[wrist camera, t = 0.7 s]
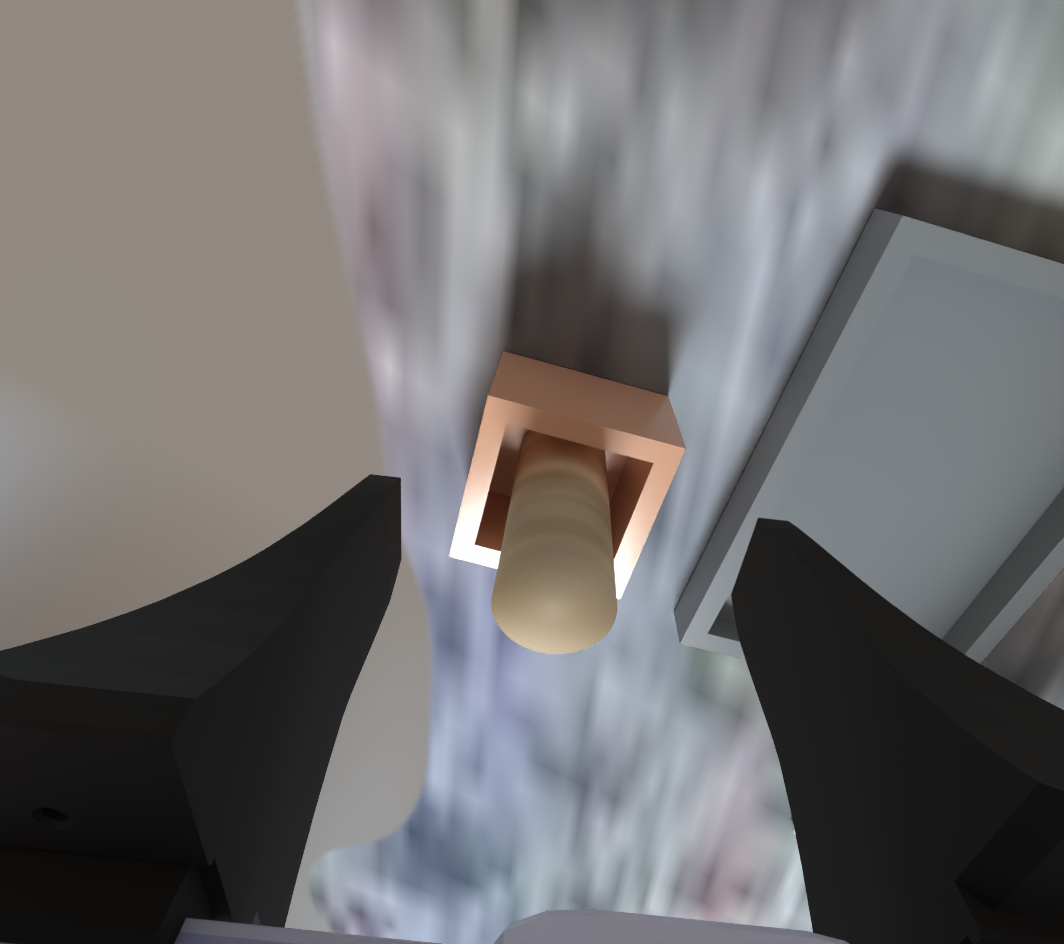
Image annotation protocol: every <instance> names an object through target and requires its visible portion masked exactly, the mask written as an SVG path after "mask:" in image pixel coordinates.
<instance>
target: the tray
mask: <svg viewBox="0 0 1064 944" xmlns="http://www.w3.org/2000/svg"><path fill="white" fill-rule="evenodd" d="M758 518H767V519H776V520H785V521H789V522H791V523H792V524H793V525H795V526H796V527H798V528H799V529H800V530H802V531H803V532H804V533H805V534H807V535H808V536H809V537H810V538H812V539H813V540H814V541H815V542H816V543H818V544H819V545H820V546H821V547H822V548H824V549H825V550H826V551H827V552H828V553H830V554H831V555H832V556H833V557H834V558H836V559H837V560H838V561H839V562H840V563H842V564H843V565H844V566H845V567H846V568H848V569H849V570H850V571H851V572H852V573H854V574H855V575H856V576H857V577H858V578H860V579H861V580H862V581H863V582H865V583H866V584H867V585H868V586H870V587H871V588H872V589H873V590H875V591H876V592H877V593H878V594H880V595H881V596H882V597H884V598H885V599H886V600H887V601H889V602H890V603H891V604H893V605H894V606H895V607H897V608H898V609H899V610H901V611H902V612H903V613H905V614H906V615H907V616H909V617H910V618H912V619H913V620H914V621H916V622H917V623H918V624H920V625H921V626H923V627H924V628H925V629H927V630H928V631H930V632H931V633H933V634H934V635H936V636H937V637H939V638H940V639H942V640H943V641H945V642H946V643H948V644H949V645H951V646H953V647H954V648H956V649H957V650H959V651H960V652H962V653H963V654H965V655H966V656H968V657H970V658H971V659H973V660H974V661H976V662H978V663H979V664H980V663H981V662H982V661H983V660H984V659H985V658H986V657H987V655H988V654H989V653H990V652H991V651H992V650H993V649H994V647H995V646H996V645H997V644H998V643H999V642H1000V641H1001V639H1002V638H1003V637H1004V636H1005V635H1006V634H1007V633H1008V631H1009V630H1010V629H1011V628H1012V627H1013V626H1014V624H1015V623H1016V622H1017V621H1018V620H1019V619H1020V618H1021V616H1022V615H1023V614H1024V613H1025V612H1026V611H1027V610H1028V608H1029V607H1030V606H1031V605H1032V604H1033V603H1034V602H1035V600H1036V599H1037V598H1038V597H1039V596H1040V595H1041V594H1042V592H1043V591H1044V590H1045V589H1046V588H1047V587H1048V585H1049V584H1050V583H1051V582H1052V581H1053V580H1054V579H1055V577H1056V576H1057V575H1058V574H1059V573H1060V572H1061V571H1062V569H1063V568H1064V264H1062V263H1058V262H1055V261H1052V260H1049V259H1045V258H1042V257H1039V256H1035V255H1032V254H1029V253H1025V252H1022V251H1019V250H1015V249H1012V248H1009V247H1006V246H1002V245H999V244H996V243H992V242H989V241H986V240H982V239H979V238H976V237H972V236H969V235H966V234H963V233H959V232H956V231H953V230H949V229H946V228H943V227H939V226H936V225H933V224H929V223H926V222H923V221H920V220H916V219H913V218H910V217H906V216H903V215H899V214H895V213H891V212H887V211H883V210H879V209H875V208H874V210H873V212H872V214H871V216H870V218H869V220H868V222H867V224H866V226H865V228H864V230H863V232H862V234H861V236H860V238H859V240H858V242H857V244H856V246H855V248H854V250H853V252H852V255H851V257H850V259H849V261H848V263H847V265H846V267H845V269H844V271H843V273H842V275H841V277H840V279H839V281H838V283H837V285H836V287H835V289H834V291H833V293H832V295H831V297H830V299H829V301H828V303H827V305H826V307H825V309H824V311H823V313H822V315H821V317H820V319H819V321H818V323H817V325H816V327H815V329H814V331H813V333H812V335H811V337H810V339H809V341H808V343H807V345H806V347H805V349H804V351H803V353H802V355H801V357H800V359H799V361H798V363H797V365H796V367H795V369H794V371H793V373H792V375H791V377H790V379H789V381H788V383H787V385H786V387H785V389H784V391H783V393H782V395H781V397H780V399H779V401H778V403H777V405H776V407H775V409H774V411H773V414H772V416H771V418H770V420H769V422H768V424H767V426H766V428H765V430H764V432H763V434H762V436H761V438H760V440H759V442H758V444H757V446H756V448H755V450H754V452H753V454H752V456H751V458H750V460H749V462H748V464H747V466H746V468H745V470H744V472H743V474H742V476H741V478H740V480H739V482H738V484H737V486H736V488H735V490H734V492H733V494H732V496H731V498H730V500H729V502H728V504H727V506H726V508H725V510H724V512H723V514H722V516H721V518H720V520H719V522H718V524H717V526H716V528H715V530H714V532H713V534H712V536H711V538H710V540H709V542H708V544H707V546H706V548H705V550H704V552H703V554H702V556H701V558H700V560H699V562H698V564H697V566H696V568H695V570H694V573H693V575H692V577H691V579H690V581H689V583H688V585H687V587H686V589H685V591H684V593H683V595H682V597H681V599H680V601H679V603H678V605H677V607H676V609H675V611H674V616H675V621H676V626H677V631H678V636H679V641H680V644H684V645H688V646H692V647H696V648H700V649H704V650H708V651H712V652H716V653H720V654H724V655H728V656H732V657H736V658H740V659H744V660H746V659H745V656H744V653H743V650H742V647H741V644H740V641H739V637H738V632H737V627H736V622H735V616H734V611H733V605H732V599H731V593H732V590H733V587H734V585H735V582H736V579H737V576H738V573H739V570H740V568H741V565H742V562H743V559H744V556H745V553H746V551H747V548H748V545H749V542H750V539H751V536H752V533H753V531H754V528H755V525H756V522H757V519H758Z"/></svg>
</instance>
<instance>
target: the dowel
mask: <svg viewBox="0 0 1064 944" xmlns="http://www.w3.org/2000/svg"><path fill="white" fill-rule="evenodd" d="M492 612H493V615H494V618H495V620H496V622H497V624H498V626H499V627H500V629H501V630H502V631H503V632H504V633H505V634H506V635H507V636H508V637H509V638H510V639H512V640H513V641H514V642H516V643H517V644H519V645H521V646H523V647H525V648H528V649H530V650H534V651H537V652H542V653H548V654H566V653H572V652H577V651H580V650H583V649H586V648H588V647H590V646H592V645H594V644H595V643H597V642H598V641H600V640H601V639H602V638H603V637H604V636H605V635H606V634H607V633H608V632H609V630H610V629H611V627H612V626H613V624H614V621H615V619H616V614H617V596H616V583H615V570H614V558H613V545H612V532H611V519H610V506H609V493H608V481H607V468H606V455H605V450H603V449H599V448H595V447H591V446H588V445H584V444H580V443H576V442H573V441H569V440H565V439H561V438H558V437H554V436H550V435H546V434H543V433H539V432H535V431H532V430H529V431H528V432H527V434H526V435H525V437H524V439H523V441H522V444H521V448H520V453H519V459H518V464H517V469H516V474H515V480H514V485H513V490H512V495H511V501H510V506H509V511H508V516H507V521H506V527H505V532H504V537H503V542H502V548H501V553H500V558H499V563H498V569H497V574H496V579H495V584H494V590H493V595H492Z"/></svg>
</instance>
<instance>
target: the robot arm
mask: <svg viewBox="0 0 1064 944" xmlns="http://www.w3.org/2000/svg"><path fill="white" fill-rule="evenodd" d="M400 562H401V478H398V477H389V476H380V475H369V476H368V477H366V478H365V479H364V480H362V481H361V482H360V483H358V484H357V485H355V486H354V487H353V488H352V489H350V490H349V491H348V492H346V493H345V494H344V495H342V496H341V497H340V498H338V499H337V500H336V501H335V502H333V503H332V504H331V505H329V506H328V507H327V508H325V509H324V510H323V511H321V512H320V513H318V514H317V515H316V516H314V517H313V518H312V519H310V520H309V521H308V522H306V523H305V524H303V525H302V526H300V527H299V528H297V529H296V530H294V531H292V532H291V533H289V534H288V535H286V536H285V537H283V538H282V539H280V540H279V541H277V542H276V543H274V544H272V545H271V546H270V547H268V548H266V549H265V550H263V551H261V552H259V553H258V554H256V555H254V556H252V557H251V558H249V559H247V560H245V561H243V562H242V563H240V564H238V565H236V566H234V567H232V568H230V569H228V570H226V571H224V572H222V573H221V574H219V575H216V576H214V577H212V578H210V579H208V580H206V581H204V582H201V583H199V584H197V585H194V586H192V587H190V588H188V589H185V590H183V591H181V592H179V593H176V594H174V595H172V596H170V597H167V598H165V599H163V600H160V601H158V602H155V603H152V604H150V605H147V606H145V607H142V608H139V609H136V610H134V611H131V612H129V613H126V614H123V615H120V616H117V617H114V618H111V619H108V620H105V621H102V622H100V623H96V624H93V625H90V626H87V627H85V628H81V629H78V630H74V631H70V632H67V633H63V634H60V635H57V636H53V637H49V638H46V639H43V640H39V641H35V642H32V643H28V644H25V645H21V646H18V647H14V648H10V649H6V650H2V651H0V944H440V943H430V942H420V941H410V940H400V939H390V938H380V937H370V936H361V935H351V934H341V933H331V932H321V931H311V930H301V929H290V928H284V927H285V922H286V919H287V915H288V911H289V906H290V903H291V899H292V895H293V891H294V886H295V883H296V879H297V875H298V871H299V867H300V864H301V860H302V857H303V853H304V849H305V845H306V842H307V838H308V834H309V831H310V827H311V823H312V819H313V816H314V812H315V808H316V805H317V802H318V798H319V795H320V791H321V788H322V784H323V781H324V777H325V774H326V770H327V767H328V763H329V760H330V757H331V753H332V750H333V747H334V743H335V740H336V737H337V734H338V730H339V727H340V724H341V721H342V717H343V714H344V712H345V709H346V706H347V703H348V701H349V698H350V695H351V693H352V691H353V688H354V686H355V683H356V681H357V679H358V676H359V674H360V672H361V669H362V667H363V664H364V662H365V660H366V657H367V655H368V653H369V650H370V648H371V645H372V643H373V641H374V638H375V636H376V634H377V631H378V629H379V626H380V624H381V621H382V619H383V616H384V614H385V612H386V609H387V607H388V604H389V602H390V599H391V595H392V591H393V588H394V584H395V581H396V577H397V573H398V569H399V565H400ZM731 599H732V605H733V611H734V616H735V622H736V627H737V632H738V637H739V641H740V644H741V647H742V650H743V653H744V656H745V659H746V662H747V665H748V668H749V671H750V674H751V677H752V680H753V683H754V686H755V689H756V692H757V694H758V697H759V700H760V703H761V706H762V709H763V712H764V715H765V718H766V721H767V723H768V726H769V729H770V732H771V735H772V738H773V741H774V745H775V748H776V751H777V755H778V758H779V761H780V766H781V770H782V774H783V779H784V783H785V787H786V792H787V796H788V801H789V805H790V809H791V814H792V819H793V824H792V829H793V833H794V834H795V835H796V839H797V844H798V849H799V854H800V859H801V864H802V869H803V875H804V881H805V887H806V893H807V899H808V905H809V911H810V916H811V922H812V928H813V933H812V932H808V931H801V930H791V929H782V928H772V927H762V926H752V925H742V924H733V923H723V922H713V921H703V920H694V919H684V918H674V917H664V916H655V915H645V914H635V913H625V912H615V911H606V910H596V909H583V910H550V911H545V912H542V913H539V914H536V915H534V916H531V917H528V918H525V919H522V920H520V921H517V922H514V923H512V924H511V925H510V926H509V927H508V928H507V929H505V930H504V931H503V933H502V934H501V935H500V937H499V938H498V939H497V941H496V942H495V943H494V944H1064V710H1062V709H1060V708H1058V707H1056V706H1054V705H1052V704H1051V703H1049V702H1047V701H1045V700H1043V699H1041V698H1039V697H1037V696H1035V695H1033V694H1032V693H1030V692H1028V691H1026V690H1025V689H1023V688H1021V687H1019V686H1017V685H1016V684H1014V683H1012V682H1010V681H1009V680H1007V679H1005V678H1003V677H1001V676H1000V675H998V674H996V673H994V672H993V671H991V670H989V669H988V668H986V667H984V666H983V665H981V664H979V663H978V662H976V661H974V660H973V659H971V658H970V657H968V656H966V655H965V654H963V653H962V652H960V651H959V650H957V649H956V648H954V647H953V646H951V645H949V644H948V643H946V642H945V641H943V640H942V639H940V638H939V637H937V636H936V635H934V634H933V633H931V632H930V631H928V630H927V629H925V628H924V627H923V626H921V625H920V624H918V623H917V622H916V621H914V620H913V619H912V618H910V617H909V616H907V615H906V614H905V613H903V612H902V611H901V610H899V609H898V608H897V607H895V606H894V605H893V604H891V603H890V602H889V601H887V600H886V599H885V598H884V597H882V596H881V595H880V594H878V593H877V592H876V591H875V590H873V589H872V588H871V587H870V586H868V585H867V584H866V583H865V582H863V581H862V580H861V579H860V578H858V577H857V576H856V575H855V574H854V573H852V572H851V571H850V570H849V569H848V568H846V567H845V566H844V565H843V564H842V563H840V562H839V561H838V560H837V559H836V558H834V557H833V556H832V555H831V554H830V553H828V552H827V551H826V550H825V549H824V548H822V547H821V546H820V545H819V544H818V543H816V542H815V541H814V540H813V539H812V538H810V537H809V536H808V535H807V534H805V533H804V532H803V531H802V530H800V529H799V528H798V527H796V526H795V525H793V524H792V523H791V522H789V521H785V520H776V519H767V518H758V519H757V522H756V525H755V528H754V531H753V533H752V536H751V539H750V542H749V545H748V548H747V551H746V553H745V556H744V559H743V562H742V565H741V568H740V570H739V573H738V576H737V579H736V582H735V585H734V587H733V590H732V593H731Z"/></svg>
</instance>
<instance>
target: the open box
mask: <svg viewBox="0 0 1064 944" xmlns="http://www.w3.org/2000/svg"><path fill="white" fill-rule="evenodd" d="M529 430H532V431H535V432H539V433H543V434H546V435H550V436H554V437H558V438H561V439H565V440H569V441H573V442H576V443H580V444H584V445H588V446H591V447H595V448H599V449H603V450H605V455H606V468H607V481H608V493H609V506H610V519H611V532H612V545H613V558H614V570H615V583H616V596H617V599H621V597H622V594H623V592H624V590H625V587H626V585H627V583H628V580H629V578H630V576H631V574H632V571H633V569H634V567H635V564H636V562H637V560H638V557H639V555H640V553H641V551H642V548H643V546H644V544H645V541H646V539H647V537H648V534H649V532H650V530H651V527H652V525H653V523H654V521H655V518H656V516H657V514H658V511H659V509H660V507H661V504H662V502H663V500H664V497H665V495H666V493H667V491H668V488H669V486H670V484H671V481H672V479H673V477H674V474H675V472H676V470H677V468H678V465H679V463H680V461H681V458H682V456H683V454H684V451H685V449H686V448H685V445H684V442H683V439H682V436H681V433H680V430H679V427H678V424H677V421H676V418H675V415H674V412H673V409H672V406H671V403H670V400H669V397H668V396H665V395H662V394H658V393H655V392H651V391H647V390H644V389H640V388H636V387H633V386H629V385H626V384H622V383H618V382H615V381H611V380H607V379H604V378H600V377H596V376H593V375H589V374H586V373H582V372H578V371H575V370H571V369H567V368H564V367H560V366H556V365H553V364H549V363H546V362H542V361H538V360H535V359H531V358H527V357H524V356H520V355H516V354H513V353H509V352H506V351H503V354H502V357H501V360H500V363H499V365H498V368H497V371H496V374H495V377H494V379H493V382H492V385H491V388H490V391H489V394H488V397H487V401H486V405H485V409H484V413H483V418H482V422H481V426H480V430H479V434H478V438H477V442H476V446H475V451H474V455H473V459H472V463H471V467H470V471H469V475H468V479H467V484H466V488H465V492H464V496H463V500H462V504H461V508H460V512H459V517H458V521H457V525H456V529H455V533H454V537H453V541H452V546H451V550H450V554H449V557H453V558H457V559H461V560H465V561H469V562H473V563H477V564H481V565H485V566H489V567H493V568H497V569H498V563H499V558H500V553H501V548H502V542H503V537H504V532H505V527H506V521H507V516H508V511H509V506H510V501H511V495H512V490H513V485H514V480H515V474H516V469H517V464H518V459H519V453H520V448H521V444H522V441H523V439H524V437H525V435H526V434H527V432H528V431H529Z"/></svg>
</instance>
